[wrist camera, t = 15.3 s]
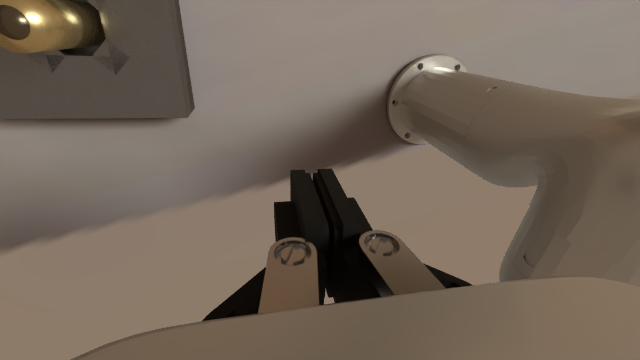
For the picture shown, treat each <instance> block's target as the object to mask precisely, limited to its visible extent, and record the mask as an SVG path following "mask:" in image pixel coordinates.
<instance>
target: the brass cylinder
mask: <svg viewBox="0 0 640 360" xmlns="http://www.w3.org/2000/svg"><path fill="white" fill-rule="evenodd" d="M105 37H106V36H105V33H104V29H103V25H102V21H101V17H100V14H99V12H98V11H97V10H96V9H94V8H93V7H92V6H90V5H88V4H86V3H83V2H78V1H72V0H0V46H1V47H3V48H5V49H7V50H9V51H12V52H16V53H34V52H43V51H53V50H62V49H71V48H81V47H90V46H96V45H99V44H100V43H102V42H103V41H104V39H105Z"/></svg>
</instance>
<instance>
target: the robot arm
mask: <svg viewBox="0 0 640 360" xmlns="http://www.w3.org/2000/svg"><path fill="white" fill-rule="evenodd" d="M418 64H419V66H418ZM417 66H418V68H417ZM393 101H394V103H392V102H393ZM387 114H388V120H389V122H390V125H391V127H392V128H393V130H394V131H395V133H396V134H397V135H399V136H400V137H401V138H402V139H404V140H405V141H407V142H410V143H413V144H418V145H421V144H431V145H432V146H434V147H435V148H437V149H438V150H440V151H442V152H443V153H444V154H446V155H447V156H449V157H450V158H452V159H454V160H455V161H457V162H458V163H459V164H461V165H463V166H464V167H465V168H467V169H468V170H470V171H472V172H473V173H475V174H476V175H478V176H479V177H481V178H482V179H484V180H486V181H488V182H490V183H492V184H495V185H499V186H505V187H528V186H535V185H538V186H537V190H536V192H535V194H534V196H533V199H532V201H531V203H530V207H529V209H528V211H527V213H526V215H525V216H524V218H523V221H522V222H521V224H520V226H519V228H518V230H517V232H516V234H515V236H514V238H513V240H512V242H511V244H510V246H509V248H508V250H507V252H506V254H505V256H504V258H503V261H502V264H501V267H500V273H499V280H500V282H497V283H489V284H481V285H471V284H470V283H468V282H466V281H463V280H461V279H459V278H456V277H454V276H452V275H449V274H447V273H445V272H442V271H440V270H438V269H435V268H433V267H430V266H428V265H425V264H423V263H422V262H421V261H420V260H419V259H418V258H417V257H416V255H415V254H414V253H413V252H412V251H411V250H410V249H409V248H408V247H407V246H406V245H405V244H404V242H403V241H401V239H399V238H398V237H397V236H395V235H394V234H392V233H389V232H386V231H380V230H374V231H373V230H372V228H371V226H370V224H369V223H368V221H367V219H366V218H365V216H364V214H363V212H362V211H361V209H360V207H359V205H358V204H357V202H356V200H355V199H354V198H347V196H346V194H345V193H344V191H343V189H342V187H341V185H340V183H339V181H338V180H337V178H336V176H335V174H334V172H333V170H332V169H318V172H317V173H313V181H312V178H311V175H310V173H305V170H291V174H290V185H291V201H289V202H274V219H275V236H276V243H274V244H273V245H272V246H271V248H270V250H269V253H268V259H267V266H266V267H265V268H264V269H263V270H262V271H260V272H259V273H258V274H257V275H256V276H254V277H253V278H252V279H251V280H249V281H248V282H247V283H246V284H245V285H243V286H242V287H241V288H240V289H239V290H237V291H236V292H235V293H234V294H233V295H231V296H230V297H229V298H228V299H226V300H225V301H224V302H223V303H222V304H220V305H219V306H218V307H217V308H215V309H214V310H213V311H212V312H211V313H209V314H208V315H207V316H206V317H205V318H204V319H203V321H202V322H196V323H190V324H185V325H178V326H172V327H167V328H162V329H157V330H153V331H149V332H144V333H141V334H136V335H133V336H130V337H127V338H123V339H121V340H117V341H114V342H111V343H108V344H105V345H103V346H101V347H98V348H96V349H94V350H91V351H89V352H87V353H85V354H82V355H80V356H78V357H75V358H73V359H71V360H640V100H637V99H618V98H606V97H596V96H585V95H579V94H573V93H566V92H560V91H554V90H549V89H544V88H539V87H534V86H529V85H524V84H519V83H514V82H509V81H505V80H500V79H495V78H490V77H485V76H481V75H476V74H471V73H469V72H468V70H467V69H466V67H465V66H464V65H463V64H462V63H461V62H460V61H459V60H457V59H456V58H453V57H451V56H448V55H442V54H433V55H427V56H424V57H421V58H419V59H417V60H415V61H414V62H412V63H411V64H409V65H408V66H407V67H406V68H405V69H404V70H403V71H402V72H401V73H400V74H399V76H398V77H397V78H396V80H395V82H394V84H393V85H392V88H391V90H390V93H389V96H388V102H387ZM405 134H406V135H405ZM325 287H326V291H327V295H328V297H329V298H330V297H333V298H334V301H335V303H332V304H325V305H324V298H325Z"/></svg>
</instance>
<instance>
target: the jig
mask: <svg viewBox="0 0 640 360" xmlns="http://www.w3.org/2000/svg"><path fill="white" fill-rule="evenodd" d="M72 1H78V2H83V3H86V4H88V5H90V6H92V7H93V8H94V9H96V10H97V11H98V12H99V14H100V17H101V21H102V25H103V29H104V33H105V36H106V37H105V39H104V41H103V42H102V43H100V44H99V45H96V46H90V47H81V48H71V49H62V50H53V51H43V52H34V53H16V52H12V51H9V50H7V49H5V48H3V47H1V46H0V119H84V118H187V117H188V116H189V115H190V114H191V112H192V111H193V110H194V108H195V107H194V101H193V94H192V87H191V81H190V74H189V67H188V61H187V54H186V47H185V41H184V34H183V27H182V21H181V14H180V7H179V1H178V0H72Z"/></svg>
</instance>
